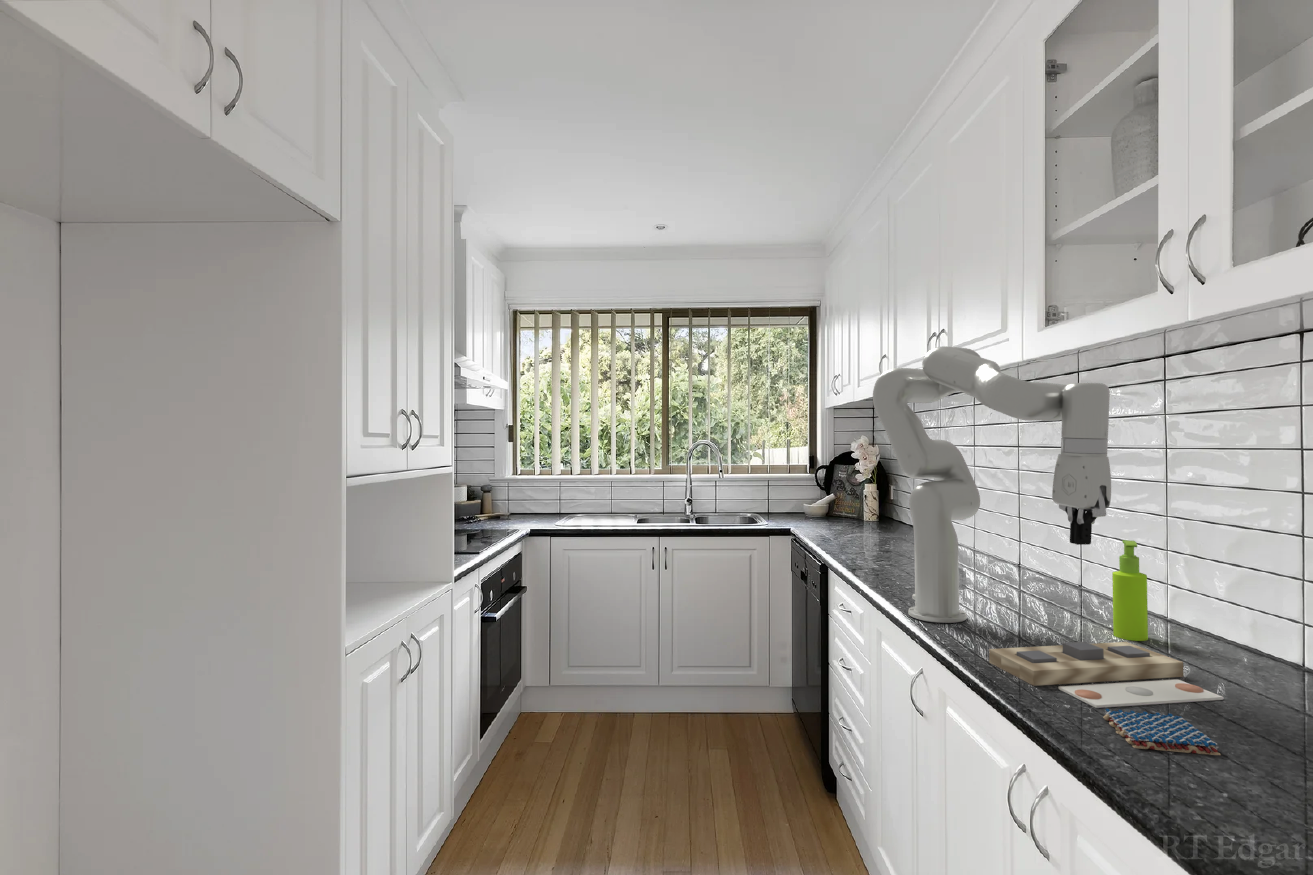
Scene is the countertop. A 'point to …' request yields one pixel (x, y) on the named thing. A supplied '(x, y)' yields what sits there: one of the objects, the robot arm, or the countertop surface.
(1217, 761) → the countertop surface
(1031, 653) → the button
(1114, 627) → the soap dispenser
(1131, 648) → the button
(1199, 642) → the countertop surface
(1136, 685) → the card
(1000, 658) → the button board
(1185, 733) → the woven mat
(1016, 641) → the countertop surface
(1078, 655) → the button
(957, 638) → the countertop surface
